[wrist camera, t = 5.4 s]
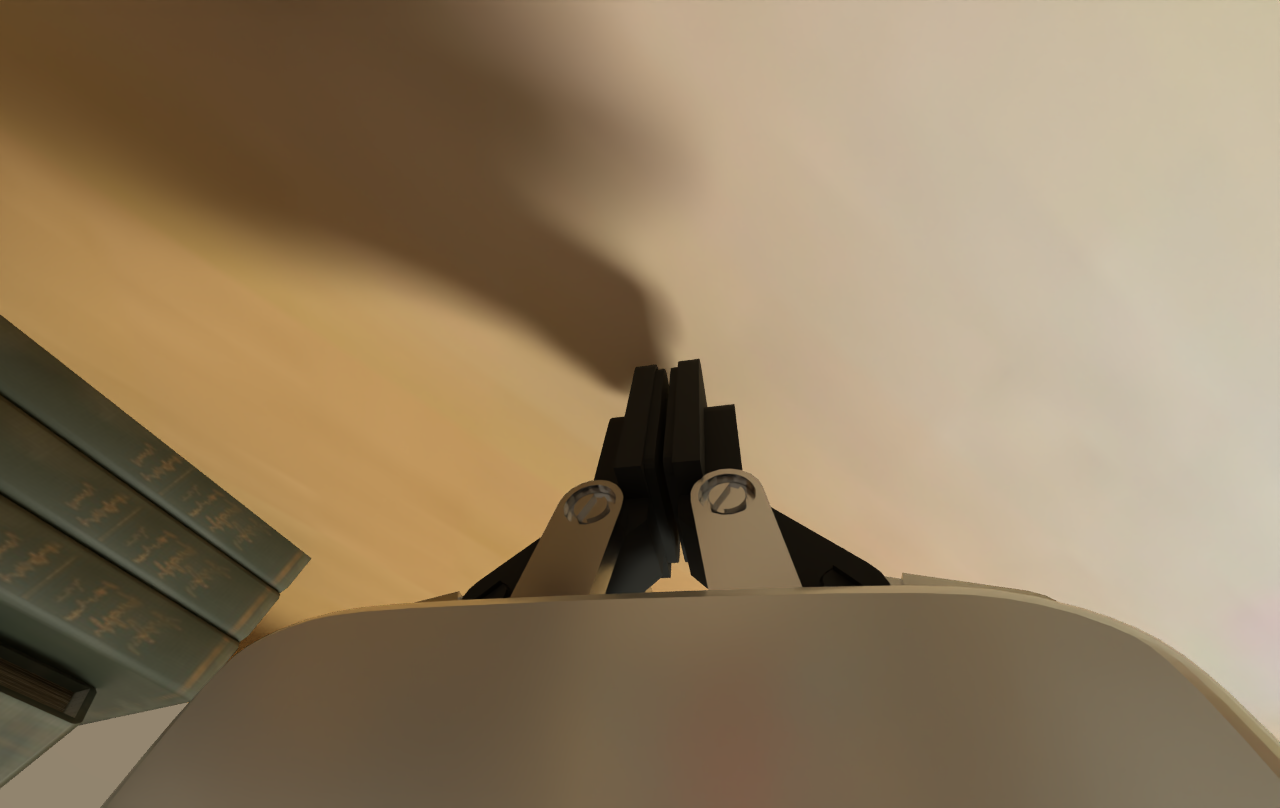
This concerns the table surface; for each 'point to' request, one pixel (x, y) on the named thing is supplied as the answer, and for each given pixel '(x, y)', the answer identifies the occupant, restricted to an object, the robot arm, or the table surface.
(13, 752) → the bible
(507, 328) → the table surface
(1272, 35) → the table surface
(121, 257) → the table surface
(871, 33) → the table surface
